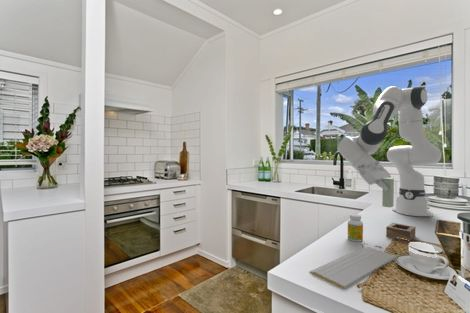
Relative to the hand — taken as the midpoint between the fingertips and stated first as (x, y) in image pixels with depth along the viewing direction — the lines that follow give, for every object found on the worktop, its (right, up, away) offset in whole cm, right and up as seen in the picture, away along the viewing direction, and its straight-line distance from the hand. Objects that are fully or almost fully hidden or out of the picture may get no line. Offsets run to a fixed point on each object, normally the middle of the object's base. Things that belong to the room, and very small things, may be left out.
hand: (389, 189), depth 102 cm
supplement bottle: (-18, -19, -7) cm, 27 cm away
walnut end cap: (+3, -19, -3) cm, 20 cm away
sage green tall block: (0, -7, +1) cm, 7 cm away
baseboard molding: (-29, -20, -28) cm, 45 cm away
